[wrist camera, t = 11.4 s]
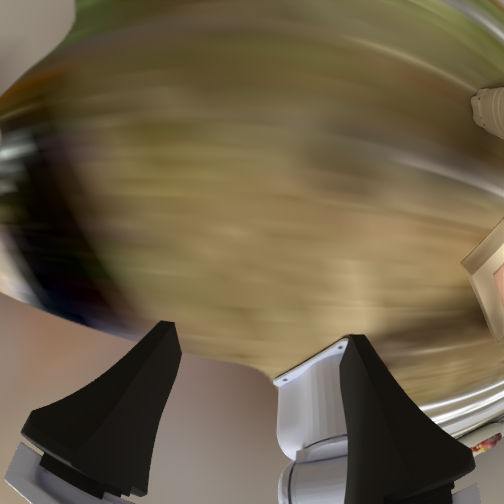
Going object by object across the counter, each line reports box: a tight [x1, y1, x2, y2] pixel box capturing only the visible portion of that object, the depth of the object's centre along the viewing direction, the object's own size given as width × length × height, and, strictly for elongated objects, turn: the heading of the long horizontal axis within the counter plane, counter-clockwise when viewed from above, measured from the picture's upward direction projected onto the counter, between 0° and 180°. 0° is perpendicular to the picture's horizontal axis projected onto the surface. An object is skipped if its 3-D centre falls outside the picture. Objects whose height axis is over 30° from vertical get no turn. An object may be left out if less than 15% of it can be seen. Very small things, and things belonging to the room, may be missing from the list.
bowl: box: [458, 423, 504, 457], centre depth 41 cm, size 30×30×8 cm
